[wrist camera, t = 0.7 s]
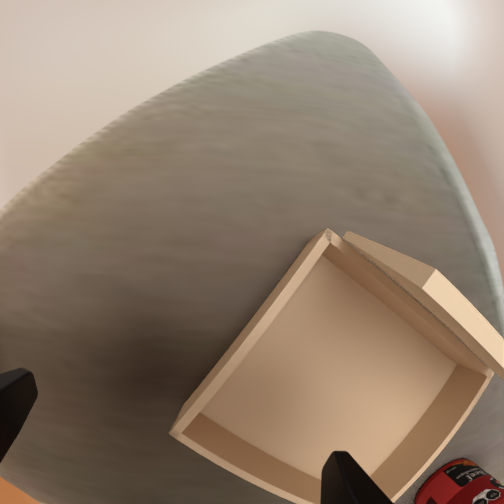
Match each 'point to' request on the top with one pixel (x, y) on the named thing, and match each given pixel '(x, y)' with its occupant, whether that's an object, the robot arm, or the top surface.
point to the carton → (333, 381)
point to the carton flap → (437, 299)
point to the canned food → (461, 486)
